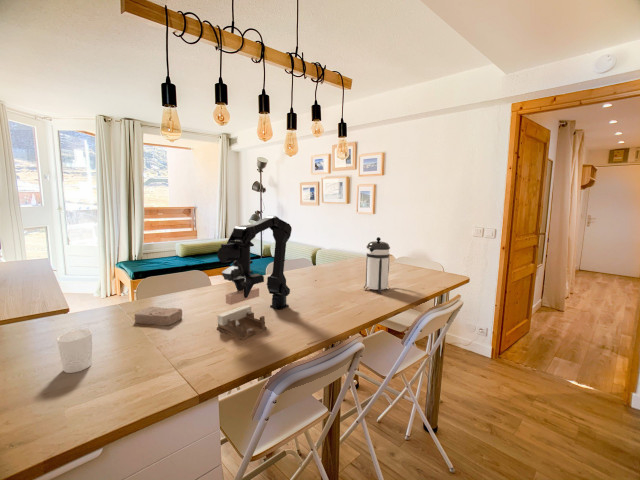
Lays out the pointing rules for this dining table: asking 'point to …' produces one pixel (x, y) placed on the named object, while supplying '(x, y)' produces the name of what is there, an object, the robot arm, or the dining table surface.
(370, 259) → the coffee press
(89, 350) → the white cup
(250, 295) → the clay strip
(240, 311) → the strip
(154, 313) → the brick
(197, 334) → the dining table surface
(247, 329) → the rack
